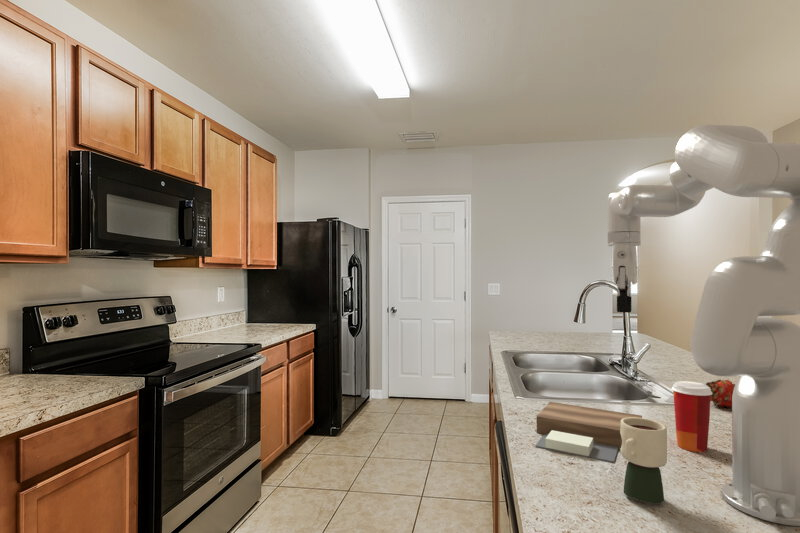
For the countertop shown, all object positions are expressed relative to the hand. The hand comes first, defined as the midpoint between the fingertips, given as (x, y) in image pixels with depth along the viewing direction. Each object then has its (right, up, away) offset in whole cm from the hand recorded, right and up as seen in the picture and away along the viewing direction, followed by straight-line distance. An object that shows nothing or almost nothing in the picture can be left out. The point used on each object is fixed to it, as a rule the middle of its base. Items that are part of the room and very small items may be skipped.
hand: (624, 311), depth 113 cm
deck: (-11, -29, -4) cm, 31 cm away
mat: (-18, -29, -14) cm, 36 cm away
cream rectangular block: (-19, -27, -14) cm, 36 cm away
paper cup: (+8, -29, -13) cm, 33 cm away
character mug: (-15, -29, -36) cm, 48 cm away
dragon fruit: (+37, -30, +17) cm, 50 cm away
